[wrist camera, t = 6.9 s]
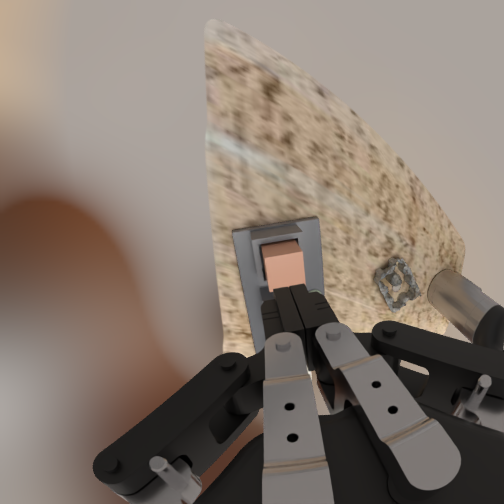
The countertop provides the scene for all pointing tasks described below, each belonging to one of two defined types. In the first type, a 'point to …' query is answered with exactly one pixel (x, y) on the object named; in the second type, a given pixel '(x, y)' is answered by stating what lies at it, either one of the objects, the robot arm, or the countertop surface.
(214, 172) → the countertop surface
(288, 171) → the countertop surface
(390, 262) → the grey ruined fortress
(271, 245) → the terracotta key
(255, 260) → the key panel
